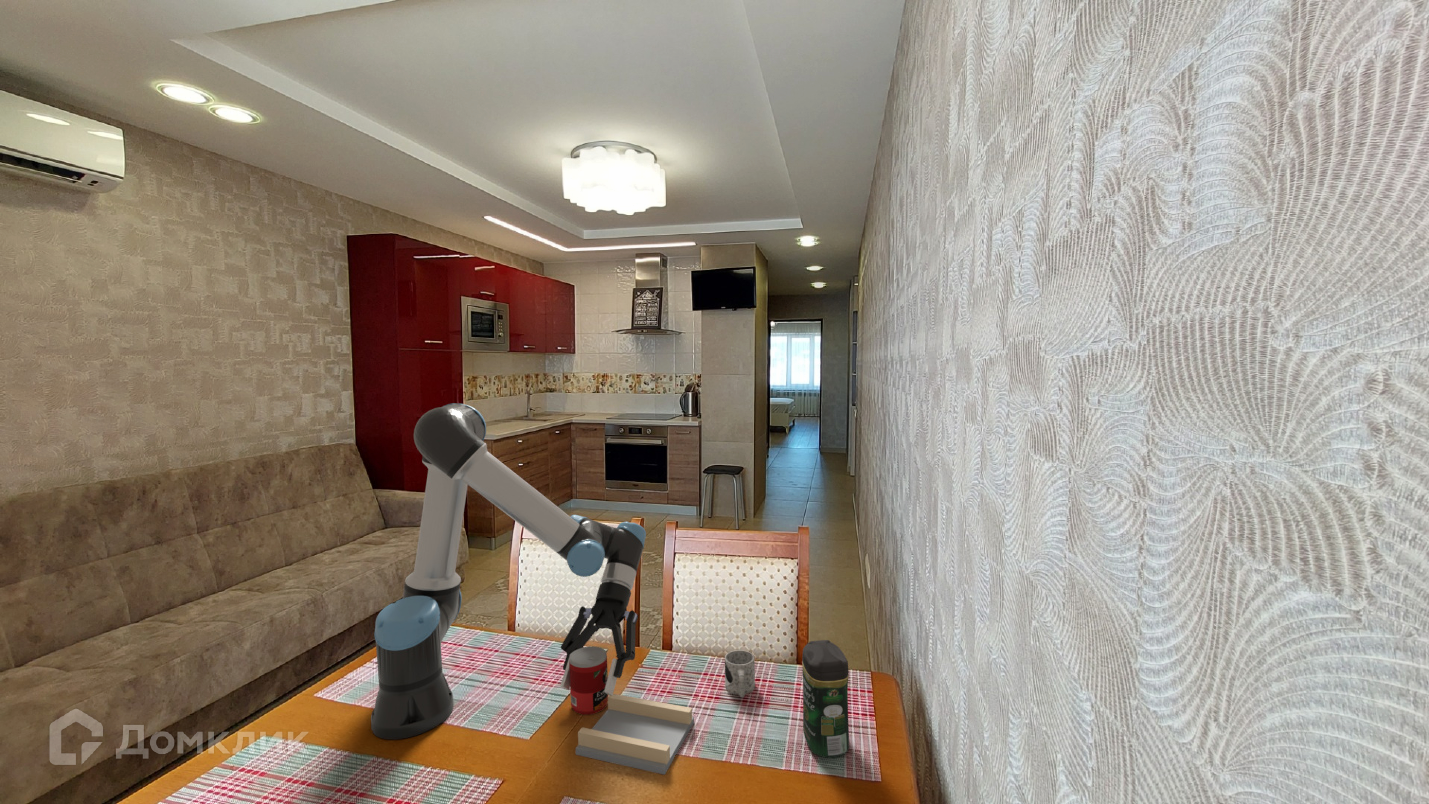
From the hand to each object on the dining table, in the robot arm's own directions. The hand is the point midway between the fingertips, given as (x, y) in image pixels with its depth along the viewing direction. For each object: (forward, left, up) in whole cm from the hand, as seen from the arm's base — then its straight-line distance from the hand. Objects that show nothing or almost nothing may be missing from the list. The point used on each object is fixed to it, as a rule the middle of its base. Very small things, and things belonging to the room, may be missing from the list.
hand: (586, 690), depth 118 cm
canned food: (-1, +3, -5) cm, 6 cm away
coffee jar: (+49, +5, -5) cm, 49 cm away
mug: (+29, +17, -5) cm, 34 cm away
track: (+14, -4, -5) cm, 15 cm away
